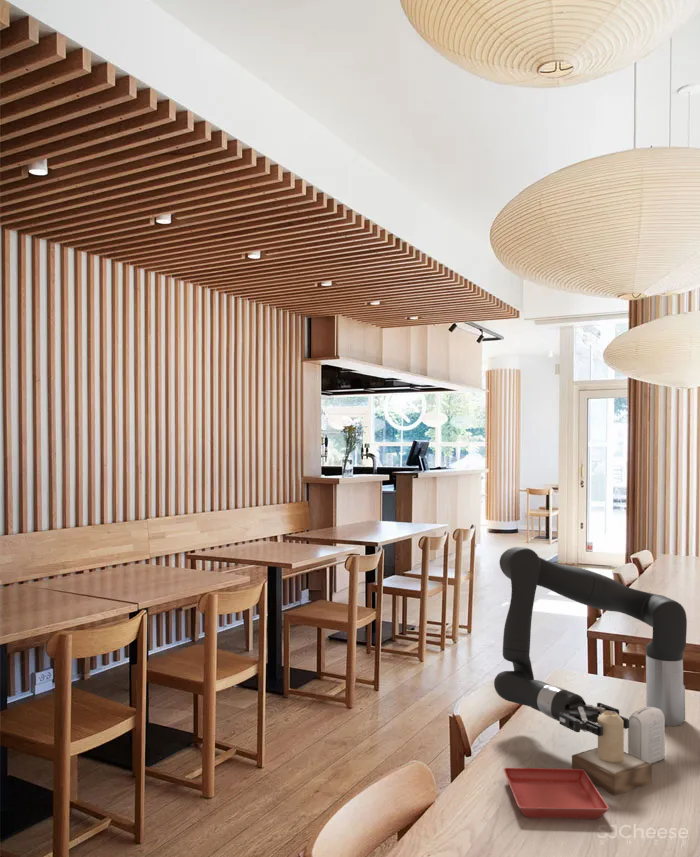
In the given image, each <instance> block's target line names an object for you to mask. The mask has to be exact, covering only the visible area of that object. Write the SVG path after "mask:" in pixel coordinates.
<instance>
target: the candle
mask: <svg viewBox="0 0 700 857" xmlns="http://www.w3.org/2000/svg"><path fill="white" fill-rule="evenodd" d="M619 715H620V714H619ZM619 715H618V714H617V713H612V712H610V711H605V712H604V713H603V714H601V715H599V717H598V723H597V724H598V725H601V726H602V727H603V736H597V748H598V757H599V758H600V759H602V760H604V761H607V762H612V763H618V762H622V761H623V759H624V752H625V748H624V746H625V742H624V741H625V740H624V738H625V737H624V736H625V735H624V731H625V730H624V729H625V728H624V722H623V720H622V718H621V717H620V716H621V715H620V716H619Z"/></svg>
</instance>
